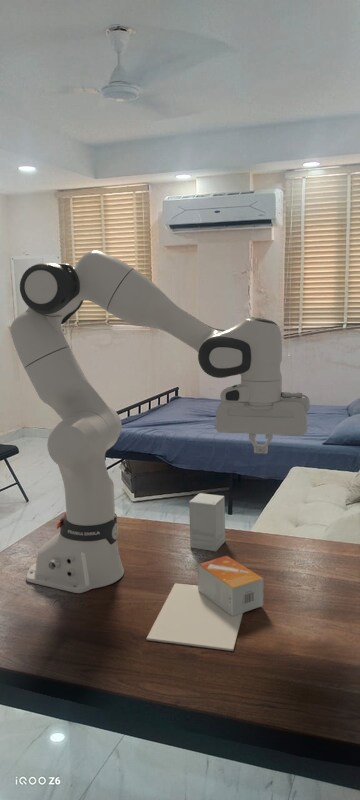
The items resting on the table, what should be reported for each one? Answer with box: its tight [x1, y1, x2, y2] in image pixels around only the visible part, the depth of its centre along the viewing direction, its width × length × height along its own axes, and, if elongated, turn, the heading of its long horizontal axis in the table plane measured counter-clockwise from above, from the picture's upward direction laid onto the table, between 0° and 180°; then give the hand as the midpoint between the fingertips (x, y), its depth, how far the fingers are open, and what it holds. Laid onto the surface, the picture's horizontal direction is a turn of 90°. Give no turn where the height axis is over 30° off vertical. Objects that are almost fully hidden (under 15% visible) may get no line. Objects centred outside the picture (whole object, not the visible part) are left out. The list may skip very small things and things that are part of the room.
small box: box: [197, 555, 264, 616], centre depth 124 cm, size 8×6×13 cm
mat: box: [146, 582, 244, 652], centre depth 119 cm, size 16×22×1 cm
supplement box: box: [188, 492, 226, 552], centre depth 152 cm, size 7×7×13 cm
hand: (260, 452), depth 131 cm, fingers closed
